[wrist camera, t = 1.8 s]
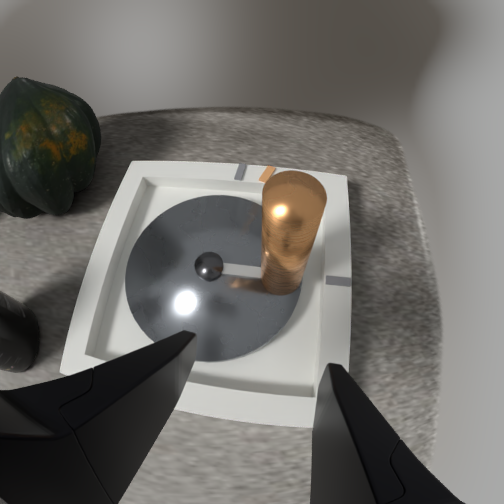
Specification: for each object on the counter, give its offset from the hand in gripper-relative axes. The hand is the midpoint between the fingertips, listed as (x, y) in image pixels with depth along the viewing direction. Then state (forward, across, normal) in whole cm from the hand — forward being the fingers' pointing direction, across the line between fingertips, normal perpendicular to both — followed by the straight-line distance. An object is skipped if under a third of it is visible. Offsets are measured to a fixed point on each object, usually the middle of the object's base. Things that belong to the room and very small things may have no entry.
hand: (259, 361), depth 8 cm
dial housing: (+14, +5, +4) cm, 15 cm away
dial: (+13, +5, +3) cm, 14 cm away
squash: (+18, +27, 0) cm, 33 cm away
